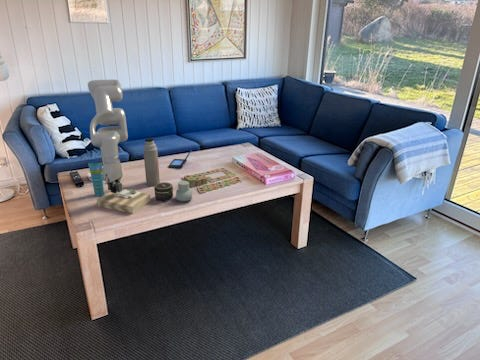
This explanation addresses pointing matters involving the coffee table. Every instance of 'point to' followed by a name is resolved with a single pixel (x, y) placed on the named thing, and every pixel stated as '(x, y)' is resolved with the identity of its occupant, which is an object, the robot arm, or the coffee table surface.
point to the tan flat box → (124, 201)
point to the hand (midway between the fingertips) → (115, 191)
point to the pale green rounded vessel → (183, 191)
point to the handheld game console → (178, 162)
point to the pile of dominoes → (211, 180)
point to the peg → (118, 189)
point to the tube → (97, 178)
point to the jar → (163, 191)
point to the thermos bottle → (151, 162)
